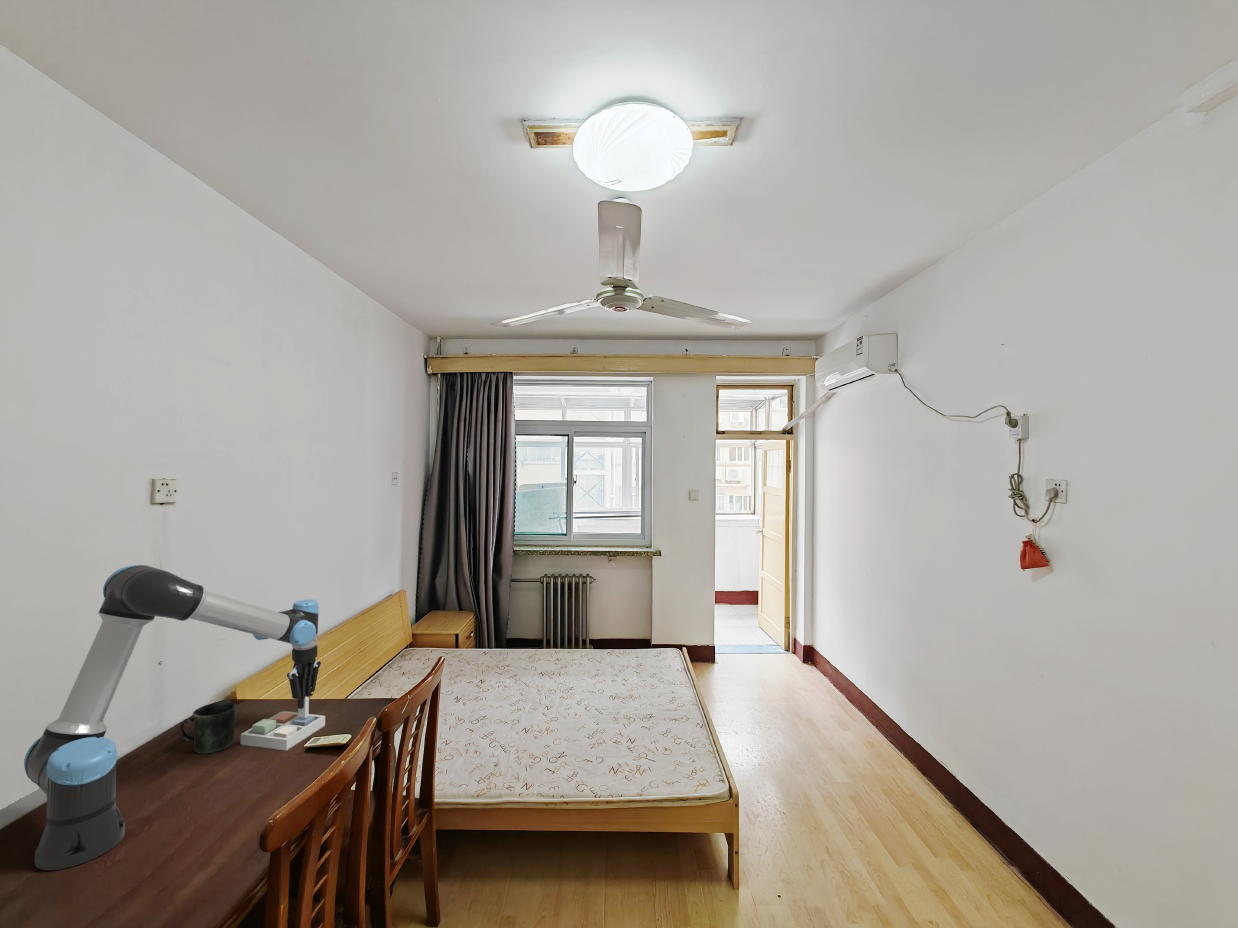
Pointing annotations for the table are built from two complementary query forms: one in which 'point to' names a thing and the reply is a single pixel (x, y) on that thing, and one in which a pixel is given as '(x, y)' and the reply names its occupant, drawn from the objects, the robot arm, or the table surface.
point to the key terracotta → (284, 718)
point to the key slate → (304, 721)
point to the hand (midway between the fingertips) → (303, 716)
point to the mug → (212, 727)
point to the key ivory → (285, 731)
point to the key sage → (264, 726)
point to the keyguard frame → (279, 742)
